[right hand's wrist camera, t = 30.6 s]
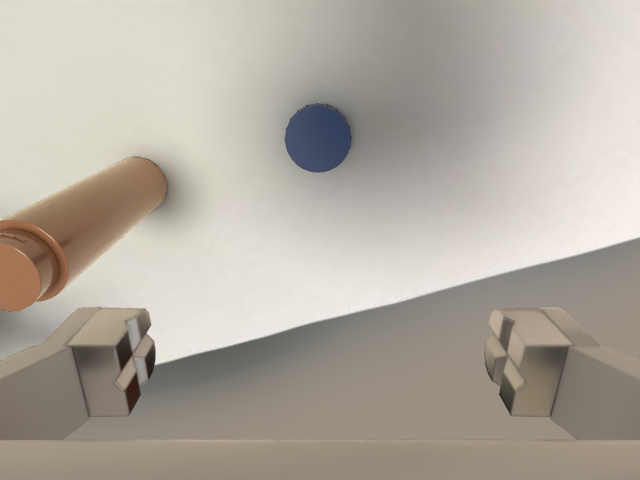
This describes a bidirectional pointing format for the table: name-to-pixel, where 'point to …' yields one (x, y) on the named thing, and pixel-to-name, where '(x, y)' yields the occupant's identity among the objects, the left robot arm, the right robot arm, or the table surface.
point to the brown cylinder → (73, 230)
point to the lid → (318, 138)
